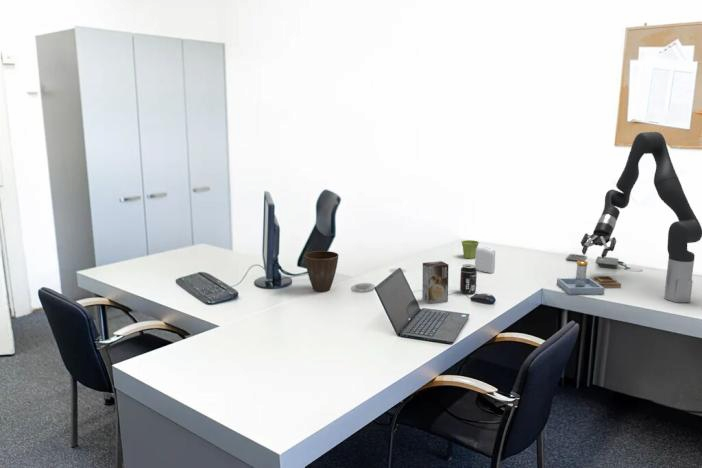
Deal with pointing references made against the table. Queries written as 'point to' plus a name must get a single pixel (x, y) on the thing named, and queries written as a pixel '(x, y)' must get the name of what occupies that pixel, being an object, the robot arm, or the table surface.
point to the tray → (570, 289)
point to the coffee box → (435, 282)
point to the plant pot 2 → (469, 248)
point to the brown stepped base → (606, 281)
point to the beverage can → (468, 279)
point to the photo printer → (485, 259)
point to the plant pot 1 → (321, 269)
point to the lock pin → (581, 273)
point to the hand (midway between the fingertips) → (592, 255)
